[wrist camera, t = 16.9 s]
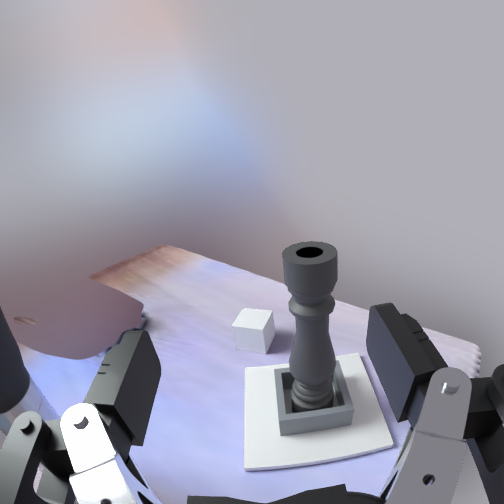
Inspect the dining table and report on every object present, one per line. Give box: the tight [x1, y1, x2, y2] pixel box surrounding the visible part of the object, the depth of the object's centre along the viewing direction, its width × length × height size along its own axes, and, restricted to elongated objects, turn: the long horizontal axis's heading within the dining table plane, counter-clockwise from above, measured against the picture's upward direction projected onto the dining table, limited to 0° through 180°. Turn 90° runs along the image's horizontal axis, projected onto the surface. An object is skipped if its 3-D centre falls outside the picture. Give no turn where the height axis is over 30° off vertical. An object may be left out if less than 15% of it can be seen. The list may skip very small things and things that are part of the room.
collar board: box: [244, 352, 394, 471], centre depth 40 cm, size 20×20×5 cm
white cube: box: [232, 308, 275, 354], centre depth 57 cm, size 6×6×6 cm
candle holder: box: [282, 241, 337, 413], centre depth 36 cm, size 6×6×25 cm
